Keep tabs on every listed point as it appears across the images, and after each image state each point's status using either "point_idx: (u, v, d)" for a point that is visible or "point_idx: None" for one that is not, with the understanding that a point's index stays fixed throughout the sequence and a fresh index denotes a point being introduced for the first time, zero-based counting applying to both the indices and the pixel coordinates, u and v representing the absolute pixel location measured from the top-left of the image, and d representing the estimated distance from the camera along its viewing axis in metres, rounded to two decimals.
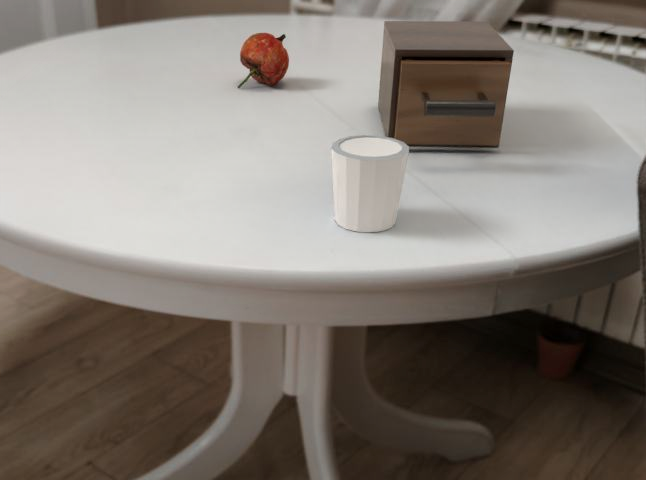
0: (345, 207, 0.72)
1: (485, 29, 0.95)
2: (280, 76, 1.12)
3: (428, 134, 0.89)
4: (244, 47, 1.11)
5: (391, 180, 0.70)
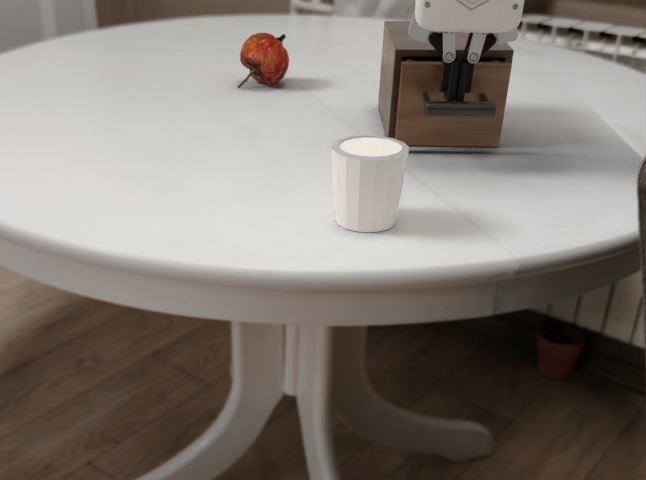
0: (345, 207, 0.72)
1: None
2: (280, 76, 1.12)
3: (428, 135, 0.89)
4: (244, 47, 1.11)
5: (391, 180, 0.70)
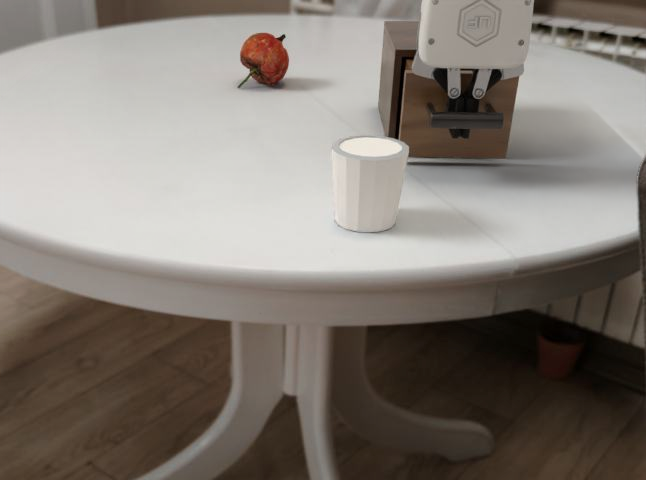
0: (345, 207, 0.72)
1: None
2: (280, 76, 1.12)
3: (433, 146, 0.85)
4: (244, 47, 1.11)
5: (391, 180, 0.70)
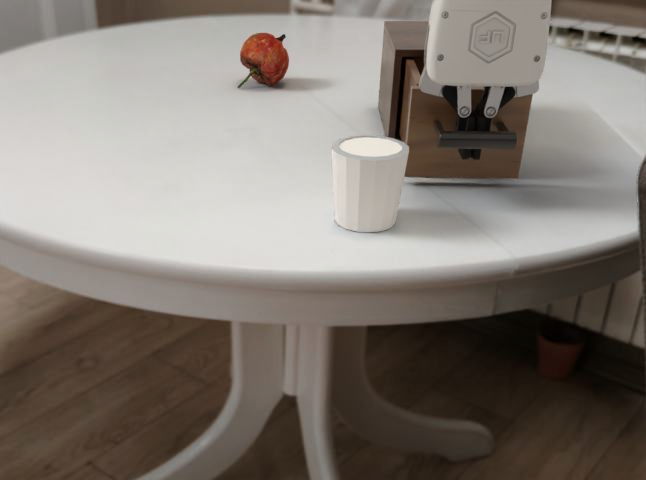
0: (345, 207, 0.72)
1: None
2: (280, 76, 1.12)
3: (440, 166, 0.80)
4: (244, 47, 1.11)
5: (391, 180, 0.70)
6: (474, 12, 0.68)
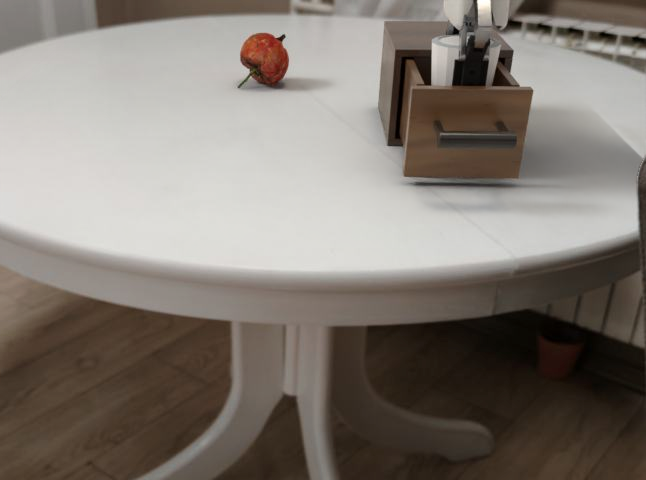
0: None
1: None
2: (280, 76, 1.12)
3: (440, 166, 0.80)
4: (244, 47, 1.11)
5: None
6: None
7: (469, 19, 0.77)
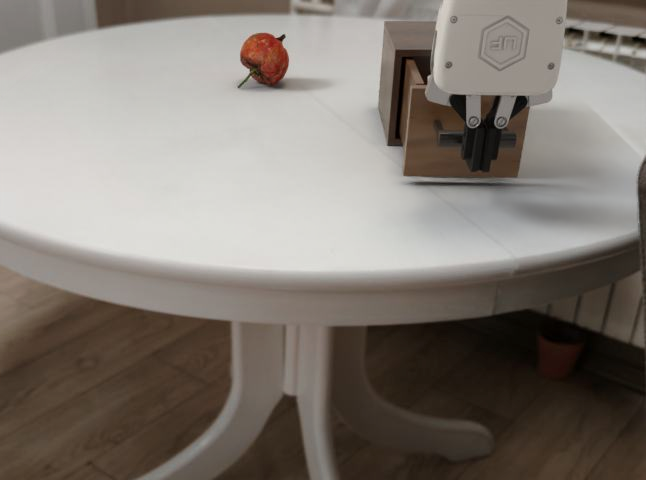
0: None
1: None
2: (280, 76, 1.12)
3: (440, 165, 0.81)
4: (244, 47, 1.11)
5: None
6: (485, 17, 0.64)
7: None
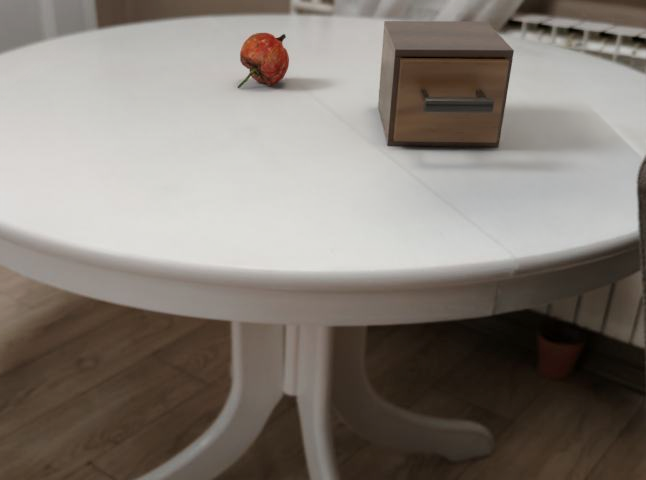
0: None
1: (485, 29, 0.95)
2: (280, 76, 1.12)
3: (427, 131, 0.90)
4: (244, 47, 1.11)
5: None
6: None
7: None
